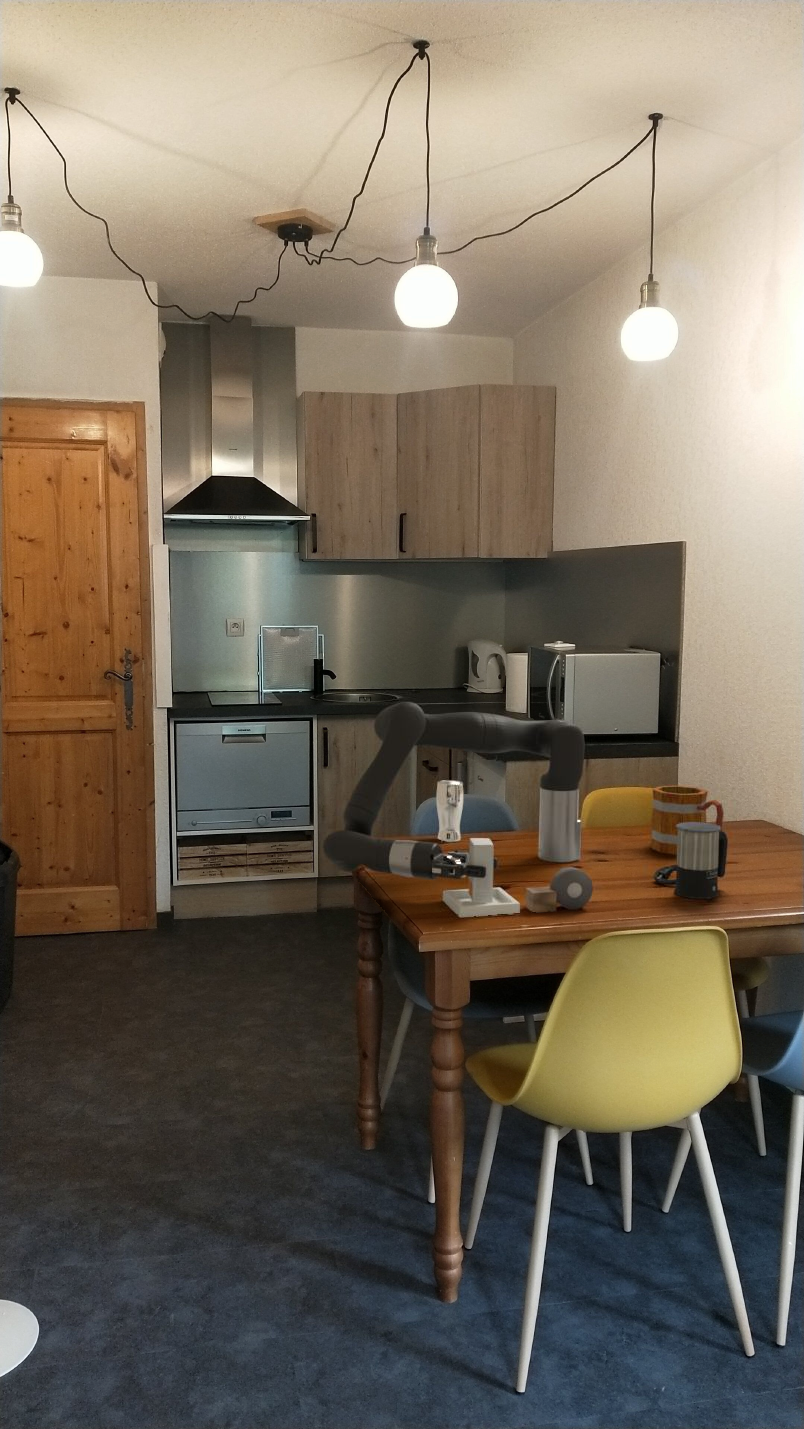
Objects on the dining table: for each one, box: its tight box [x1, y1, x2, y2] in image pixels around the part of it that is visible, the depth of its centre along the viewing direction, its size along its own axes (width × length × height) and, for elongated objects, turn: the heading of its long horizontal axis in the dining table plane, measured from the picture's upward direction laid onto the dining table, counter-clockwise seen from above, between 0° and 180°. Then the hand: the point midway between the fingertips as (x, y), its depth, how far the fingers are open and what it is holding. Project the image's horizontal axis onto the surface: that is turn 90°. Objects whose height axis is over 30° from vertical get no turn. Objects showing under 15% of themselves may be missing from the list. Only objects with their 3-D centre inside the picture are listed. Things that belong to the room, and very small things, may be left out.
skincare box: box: [468, 837, 495, 903], centre depth 222 cm, size 6×4×12 cm
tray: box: [442, 886, 521, 918], centre depth 223 cm, size 12×12×2 cm
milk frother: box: [653, 822, 729, 900], centre depth 237 cm, size 14×16×15 cm
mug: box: [650, 785, 724, 855], centre depth 273 cm, size 20×14×15 cm
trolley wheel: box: [549, 866, 594, 910], centre depth 223 cm, size 8×4×8 cm, turn 104°
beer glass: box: [435, 779, 464, 843], centre depth 284 cm, size 7×7×15 cm
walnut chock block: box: [525, 886, 557, 913], centre depth 222 cm, size 5×4×4 cm
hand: (491, 868), depth 221 cm, fingers open, 7 cm apart
